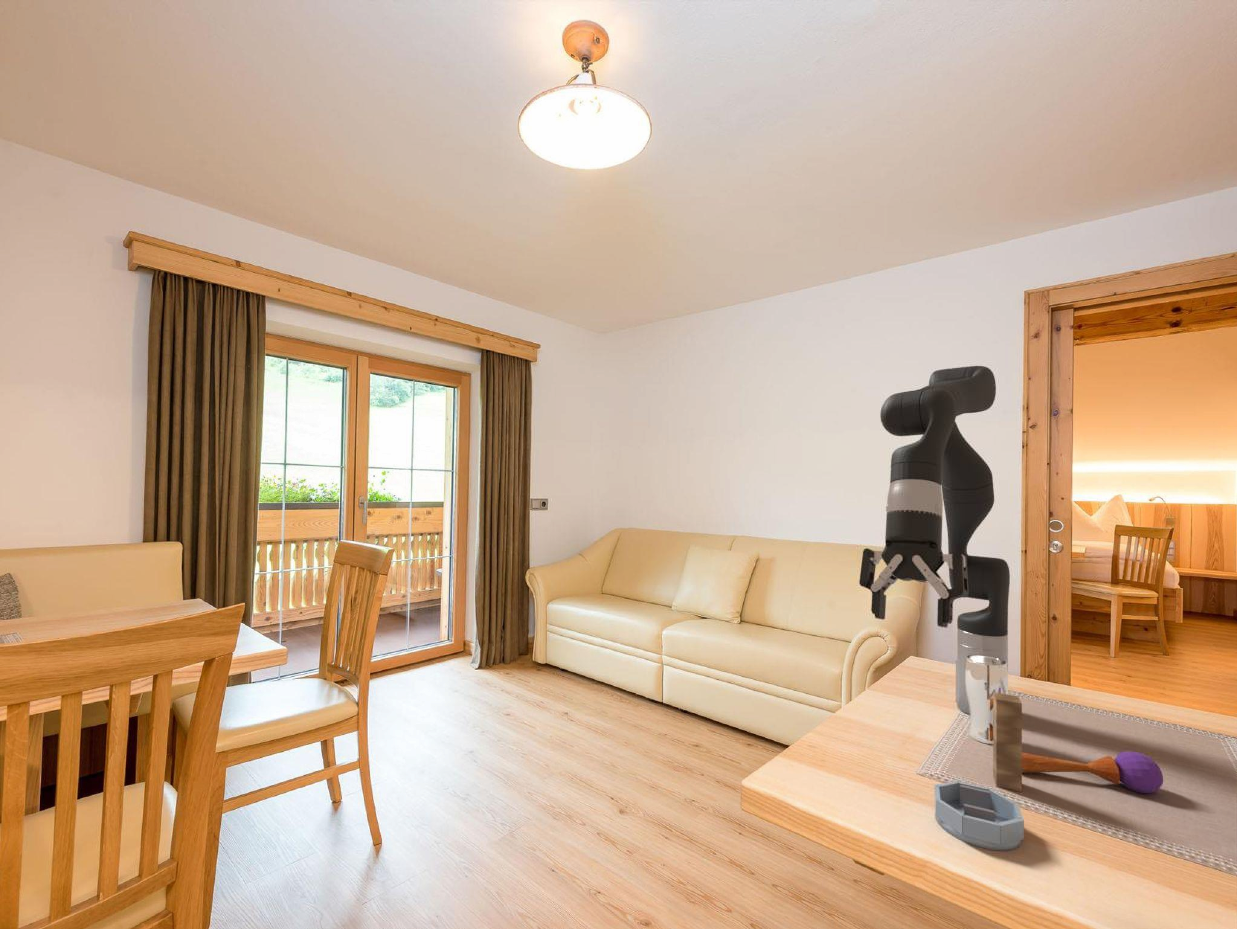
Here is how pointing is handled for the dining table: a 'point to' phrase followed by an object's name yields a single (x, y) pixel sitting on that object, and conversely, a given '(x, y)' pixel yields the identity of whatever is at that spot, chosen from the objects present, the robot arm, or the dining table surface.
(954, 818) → the blue-grey octagonal holder
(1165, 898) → the dining table surface
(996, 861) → the dining table surface
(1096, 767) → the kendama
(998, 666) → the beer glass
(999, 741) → the wooden block
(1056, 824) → the dining table surface
